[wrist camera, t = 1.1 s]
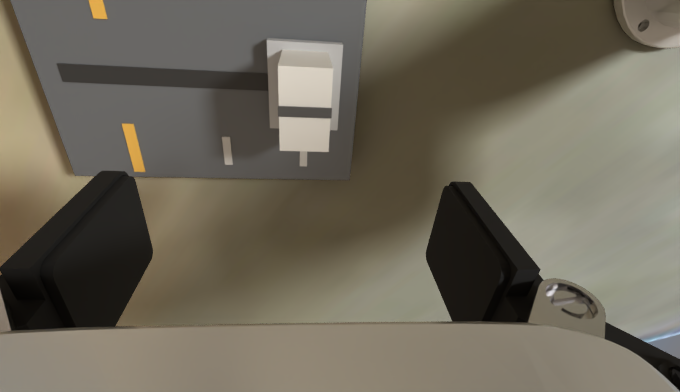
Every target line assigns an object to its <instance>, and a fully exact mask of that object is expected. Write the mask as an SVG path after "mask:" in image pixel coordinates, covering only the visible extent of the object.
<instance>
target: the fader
mask: <svg viewBox="0 0 680 392" xmlns="http://www.w3.org/2000/svg"><path fill="white" fill-rule="evenodd" d="M342 56H343V44H342V42H327V41H310V40H294V39H277V38H268V39H267V63H268V90H269V116H270V128H279V139H280V151H309V152H329V135H330V130H337V129H338V114H339V100H340V85H341V70H342Z"/></svg>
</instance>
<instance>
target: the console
mask: <svg viewBox="0 0 680 392" xmlns="http://www.w3.org/2000/svg"><path fill="white" fill-rule="evenodd" d="M10 1H11V4H12V6H13V9H14V12H15V14H16V17H17V20H18V23H19V25H20V28H21V31H22V33H23V36H24V39H25V41H26V44H27V47H28V50H29V52H30V55H31V58H32V60H33V63H34V66H35V69H36V71H37V74H38V77H39V79H40V82H41V85H42V88H43V90H44V93H45V96H46V98H47V101H48V104H49V107H50V109H51V112H52V115H53V117H54V120H55V123H56V125H57V128H58V131H59V134H60V136H61V139H62V142H63V144H64V147H65V150H66V153H67V155H68V158H69V161H70V163H71V166H72V169H73V172H74V174H75V176H96V175H97V174H98V173H99V172H101V171H125V172H127V174H128V176H132V177H187V178H246V179H306V180H350V172H351V161H352V151H353V140H354V130H355V119H356V109H357V98H358V88H359V77H360V67H361V56H362V46H363V35H364V24H365V14H366V3H367V0H10ZM268 38H277V39H294V40H310V41H327V42H342V44H343V56H342V70H341V85H340V100H339V114H338V129H337V130H330V135H329V152H309V151H280V139H279V128H270V116H269V90H268V63H267V39H268Z"/></svg>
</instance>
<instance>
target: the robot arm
mask: <svg viewBox="0 0 680 392" xmlns="http://www.w3.org/2000/svg"><path fill="white" fill-rule="evenodd" d="M614 8H615V12H616V16H617V20H618V22H619V23H620V25H621V27H622V29H623V31H624V32H625V33H626V34H627V35H628V36H629V37H630V38H631V39H633V40H635V41H637V42H639V43H641V44H643V45H647V46H652V47H656V48H669V49H670V48H677V47H680V0H614ZM152 254H153V249H152V244H151V240H150V236H149V232H148V229H147V225H146V221H145V217H144V213H143V209H142V205H141V201H140V197H139V193H138V189H137V185H136V182H135V179H134V178H133V177H132V176H128V174H127V172H125V171H101V172H99V173H98V174H97V175H96V176H95V177H94V178H93V179H92V180H91V181H90V182H89V183H88V184H87V185H86V186H85V187H83V188H82V189H81V190H80V191H79V192H78V193H77V194H76V195H75V196H74V197H73V198H72V199H71V200H70V201H69V202H68V203H67V204H66V205H65V206H64V207H63V208H62V209H60V210H59V211H58V212H57V213H56V214H55V215H54V216H53V217H52V218H51V219H50V220H49V221H48V222H47V223H46V224H45V225H44V226H43V227H42V228H41V229H40V230H39V231H37V232H36V233H35V234H34V235H33V236H32V237H31V238H30V239H29V240H28V241H27V242H26V243H25V244H24V245H23V246H22V247H21V248H20V249H19V250H18V251H17V252H16V253H14V254H13V255H12V256H11V257H10V258H9V259H8V260H7V261H6V262H5V263H4V264H3V265H2V266H1V267H0V271H1V273H2V275H1V276H0V392H680V359H678V358H676V357H674V356H672V355H670V354H668V353H666V352H664V351H662V350H660V349H658V348H656V347H654V346H652V345H650V344H648V343H646V342H644V341H642V340H640V339H638V338H636V337H634V336H632V335H630V334H628V333H626V332H624V331H622V330H620V329H618V328H616V327H614V326H612V325H610V324H608V323H606V322H605V321H606V314H605V309H604V307H603V306H602V304H601V303H600V301H599V300H598V299H597V298H596V297H595V296H594V295H593V294H591V293H590V292H589V291H587V290H586V289H584V288H583V287H581V286H579V285H577V284H575V283H572V282H569V281H566V280H563V279H556V278H553V279H546V280H543V279H542V278H541V276H540V275H539V274H538V273H539V271H540V268H539V267H538V266H537V265H536V263H535V262H534V261H533V260H532V258H531V257H530V256H529V255H528V253H527V252H526V251H525V250H524V248H523V247H522V246H521V245H520V243H519V242H518V241H517V240H516V238H515V237H514V236H513V235H512V233H511V232H510V231H509V230H508V228H507V227H506V226H505V225H504V223H503V222H502V221H501V220H500V218H499V217H498V216H497V215H496V213H495V212H494V211H493V210H492V208H491V207H490V206H489V205H488V203H487V202H486V201H485V200H484V198H483V197H482V196H481V195H480V193H479V192H478V191H477V190H476V188H475V187H474V186H473V185H472V184H471V183H470V182H451V183H450V184H449V186H445V187H444V189H443V192H442V195H441V199H440V203H439V206H438V210H437V214H436V217H435V221H434V224H433V228H432V232H431V235H430V239H429V243H428V246H427V250H426V259H427V263H428V265H429V267H430V270H431V272H432V274H433V277H434V279H435V281H436V284H437V286H438V289H439V291H440V293H441V296H442V298H443V300H444V303H445V305H446V307H447V310H448V312H449V314H450V317H451V319H452V321H453V322H342V323H274V324H215V325H167V326H119V327H115V326H116V324H117V322H118V320H119V318H120V316H121V315H122V313H123V311H124V309H125V307H126V305H127V304H128V302H129V300H130V298H131V296H132V294H133V292H134V291H135V289H136V287H137V285H138V283H139V281H140V280H141V278H142V276H143V274H144V272H145V270H146V268H147V267H148V265H149V263H150V261H151V259H152Z"/></svg>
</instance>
